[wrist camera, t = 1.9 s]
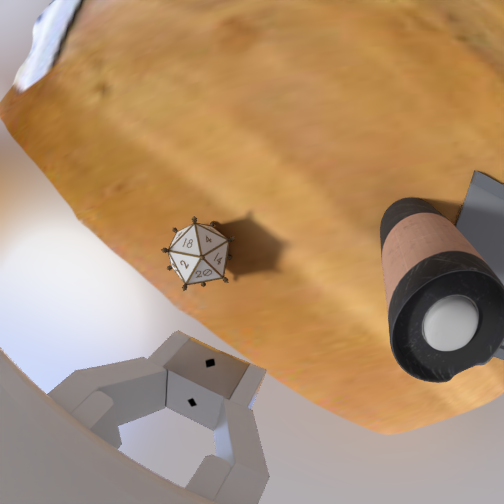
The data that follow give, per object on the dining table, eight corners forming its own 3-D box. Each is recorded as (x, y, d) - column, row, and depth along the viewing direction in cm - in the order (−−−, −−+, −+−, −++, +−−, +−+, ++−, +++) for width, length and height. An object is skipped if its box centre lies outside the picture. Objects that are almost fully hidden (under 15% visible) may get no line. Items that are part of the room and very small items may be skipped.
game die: (233, 224, 42) (250, 223, 33) (224, 286, 43) (238, 303, 33) (168, 214, 40) (165, 209, 30) (159, 277, 40) (154, 292, 31)
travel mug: (388, 185, 30) (420, 246, 13) (450, 206, 28) (534, 287, 11) (369, 250, 33) (366, 369, 16) (428, 268, 31) (471, 393, 14)
